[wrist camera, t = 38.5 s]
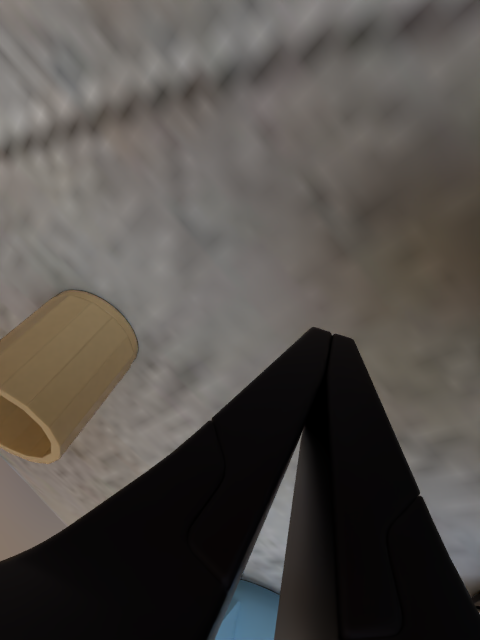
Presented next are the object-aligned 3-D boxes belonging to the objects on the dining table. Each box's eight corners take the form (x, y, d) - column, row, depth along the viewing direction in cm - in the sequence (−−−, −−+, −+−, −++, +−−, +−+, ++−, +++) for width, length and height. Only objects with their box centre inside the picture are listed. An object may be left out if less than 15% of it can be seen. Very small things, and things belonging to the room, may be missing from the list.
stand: (141, 379, 25) (70, 478, 19) (60, 350, 26) (-29, 437, 20) (136, 307, 21) (46, 407, 16) (41, 277, 22) (-74, 360, 17)
